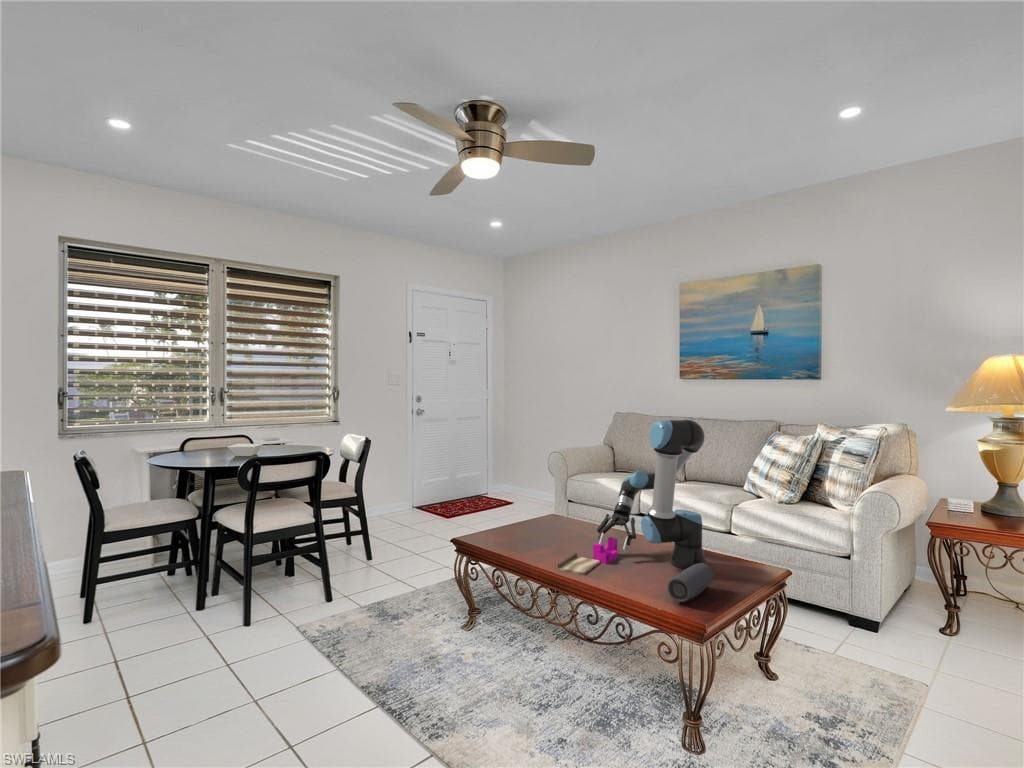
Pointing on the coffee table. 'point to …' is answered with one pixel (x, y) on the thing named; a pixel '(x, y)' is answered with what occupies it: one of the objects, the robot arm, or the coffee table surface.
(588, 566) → the board
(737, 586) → the coffee table surface
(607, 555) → the toy block
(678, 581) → the bluetooth speaker
